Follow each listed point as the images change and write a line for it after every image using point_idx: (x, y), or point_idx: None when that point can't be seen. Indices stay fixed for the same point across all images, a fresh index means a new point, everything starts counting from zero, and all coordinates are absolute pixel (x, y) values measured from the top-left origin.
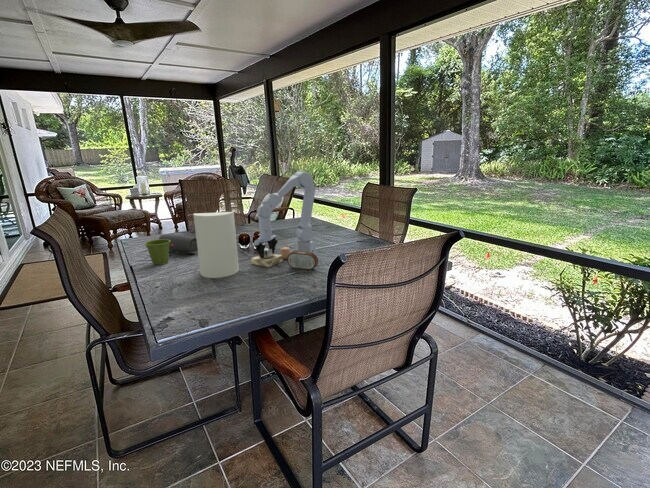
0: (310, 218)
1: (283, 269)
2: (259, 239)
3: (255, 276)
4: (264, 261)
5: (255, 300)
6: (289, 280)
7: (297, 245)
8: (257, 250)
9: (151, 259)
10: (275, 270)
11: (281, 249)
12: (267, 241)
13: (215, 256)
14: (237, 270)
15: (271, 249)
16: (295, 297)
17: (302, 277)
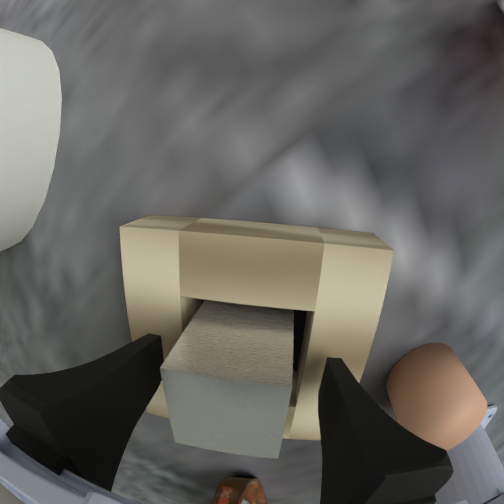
0: None
1: (190, 452)
2: (53, 500)
3: (48, 367)
4: None
5: (8, 415)
6: (119, 474)
7: (450, 492)
8: (83, 368)
9: None
10: (153, 427)
11: (416, 428)
12: (363, 465)
13: None
14: (13, 244)
15: (266, 452)
16: None
17: (167, 498)
